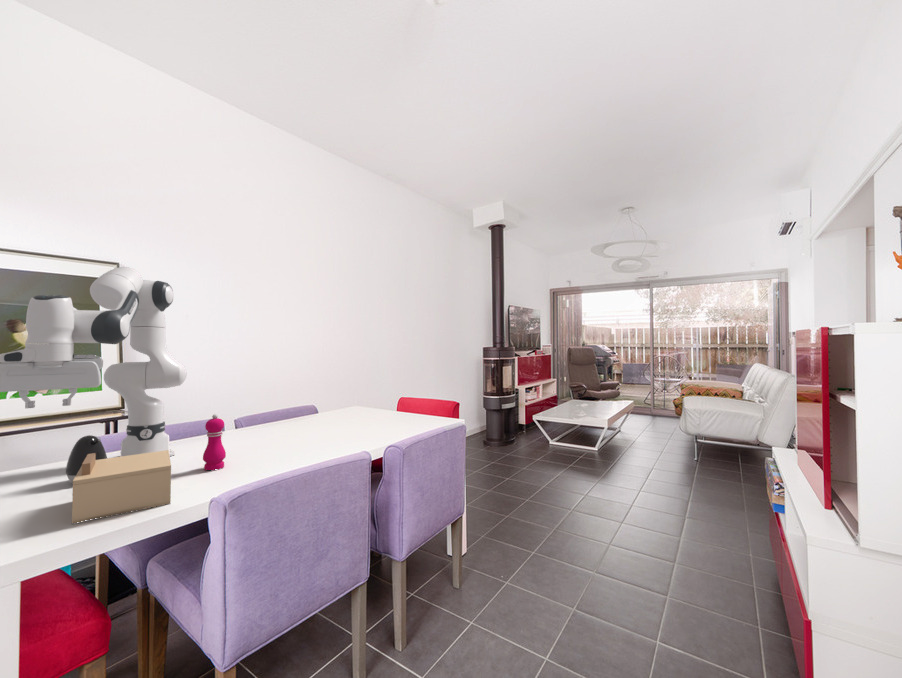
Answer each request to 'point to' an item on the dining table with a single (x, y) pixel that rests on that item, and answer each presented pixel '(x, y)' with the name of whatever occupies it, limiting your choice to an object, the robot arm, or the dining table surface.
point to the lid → (121, 466)
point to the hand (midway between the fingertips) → (48, 406)
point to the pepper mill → (214, 444)
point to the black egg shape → (83, 454)
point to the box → (120, 495)
